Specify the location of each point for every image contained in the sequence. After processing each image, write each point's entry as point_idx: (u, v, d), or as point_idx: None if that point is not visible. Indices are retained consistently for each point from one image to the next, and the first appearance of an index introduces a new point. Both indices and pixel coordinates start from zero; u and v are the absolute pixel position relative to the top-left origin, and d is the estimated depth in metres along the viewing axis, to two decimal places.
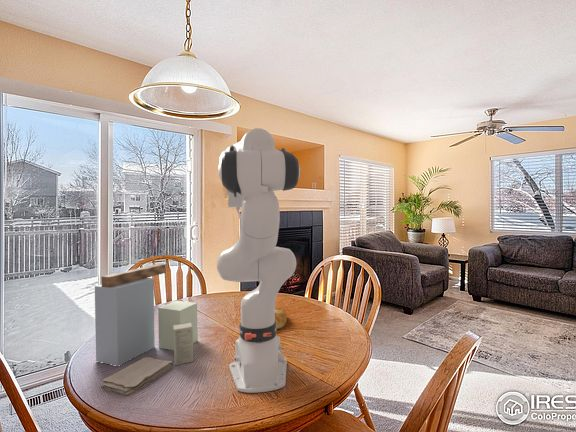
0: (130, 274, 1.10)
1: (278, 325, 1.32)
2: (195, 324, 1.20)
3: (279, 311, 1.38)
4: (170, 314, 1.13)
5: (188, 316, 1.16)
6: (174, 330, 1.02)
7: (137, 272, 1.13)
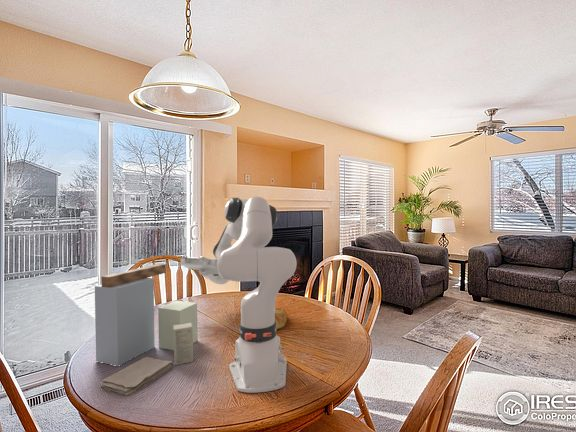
0: (130, 274, 1.10)
1: (278, 325, 1.32)
2: (195, 324, 1.20)
3: (279, 311, 1.38)
4: (170, 314, 1.13)
5: (188, 316, 1.16)
6: (174, 330, 1.02)
7: (137, 272, 1.13)
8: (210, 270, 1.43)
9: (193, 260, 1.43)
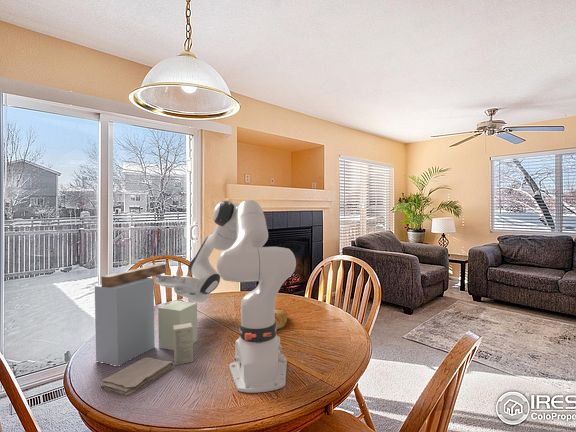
0: (130, 274, 1.10)
1: (278, 325, 1.31)
2: (195, 324, 1.20)
3: (279, 311, 1.38)
4: (170, 314, 1.13)
5: (188, 316, 1.16)
6: (174, 330, 1.02)
7: (137, 272, 1.13)
8: (186, 289, 1.34)
9: (168, 278, 1.34)
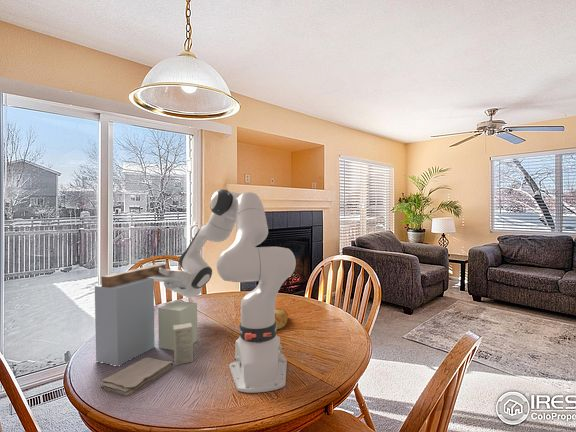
0: (130, 274, 1.10)
1: (278, 325, 1.31)
2: (195, 324, 1.20)
3: (280, 311, 1.37)
4: (170, 314, 1.13)
5: (188, 316, 1.16)
6: (174, 330, 1.02)
7: (137, 272, 1.13)
8: (176, 283, 1.29)
9: None
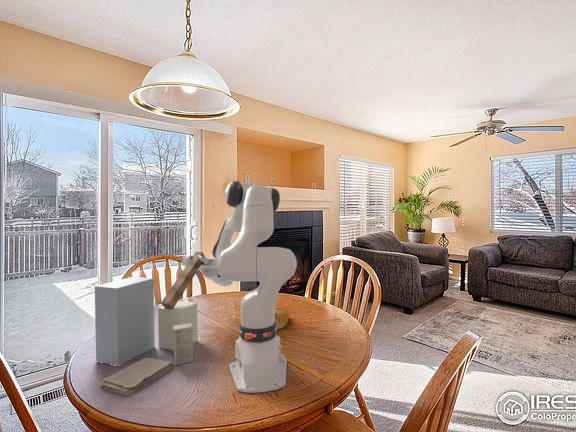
0: (181, 286, 1.18)
1: (278, 326, 1.31)
2: (195, 324, 1.20)
3: (280, 311, 1.37)
4: (170, 314, 1.13)
5: (188, 316, 1.16)
6: (174, 330, 1.02)
7: (185, 279, 1.20)
8: (214, 271, 1.34)
9: None
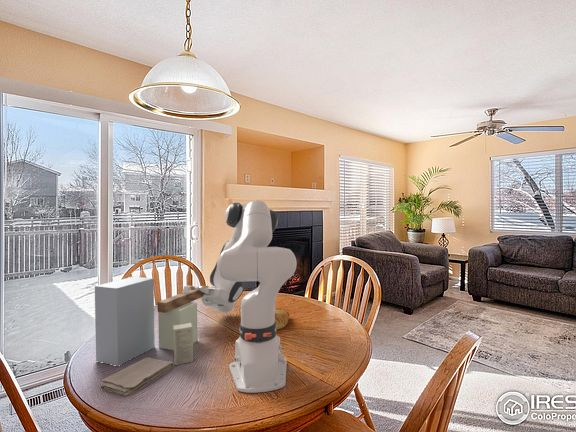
0: (181, 299, 1.17)
1: (278, 326, 1.31)
2: (195, 324, 1.20)
3: (280, 312, 1.37)
4: (170, 314, 1.13)
5: (188, 316, 1.16)
6: (174, 330, 1.02)
7: (186, 296, 1.20)
8: (214, 300, 1.34)
9: None
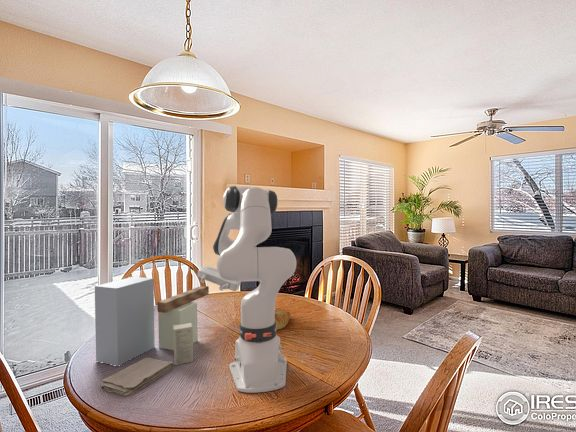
0: (181, 299, 1.17)
1: (278, 326, 1.31)
2: (195, 324, 1.20)
3: (281, 312, 1.37)
4: (170, 314, 1.13)
5: (188, 316, 1.16)
6: (174, 330, 1.02)
7: (186, 296, 1.20)
8: None
9: (211, 277, 1.41)
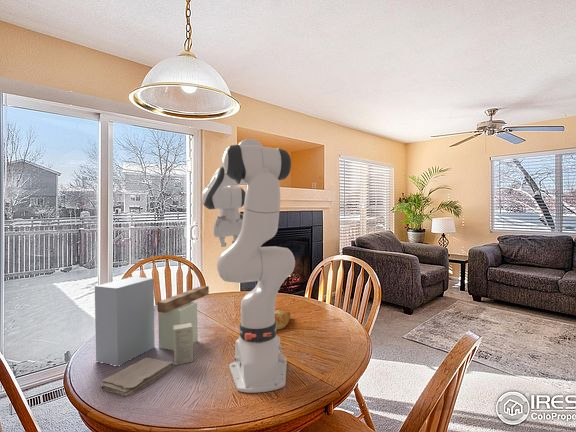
0: (181, 299, 1.17)
1: (277, 326, 1.31)
2: (195, 324, 1.20)
3: (281, 312, 1.37)
4: (170, 314, 1.13)
5: (188, 316, 1.16)
6: (174, 330, 1.02)
7: (186, 296, 1.20)
8: None
9: None
